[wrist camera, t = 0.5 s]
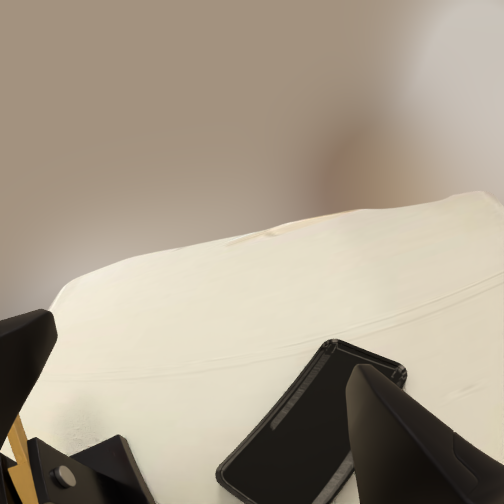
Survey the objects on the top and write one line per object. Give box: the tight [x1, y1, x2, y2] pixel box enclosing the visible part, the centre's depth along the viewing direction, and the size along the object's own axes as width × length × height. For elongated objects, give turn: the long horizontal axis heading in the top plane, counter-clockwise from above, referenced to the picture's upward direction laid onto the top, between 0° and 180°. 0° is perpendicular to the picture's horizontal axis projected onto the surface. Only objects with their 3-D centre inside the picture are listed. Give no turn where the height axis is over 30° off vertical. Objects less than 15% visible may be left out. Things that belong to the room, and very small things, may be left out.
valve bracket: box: [0, 434, 156, 504], centre depth 11 cm, size 12×9×10 cm
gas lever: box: [7, 414, 39, 504], centre depth 11 cm, size 13×3×3 cm, turn 33°
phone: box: [216, 339, 407, 504], centre depth 18 cm, size 8×1×15 cm
